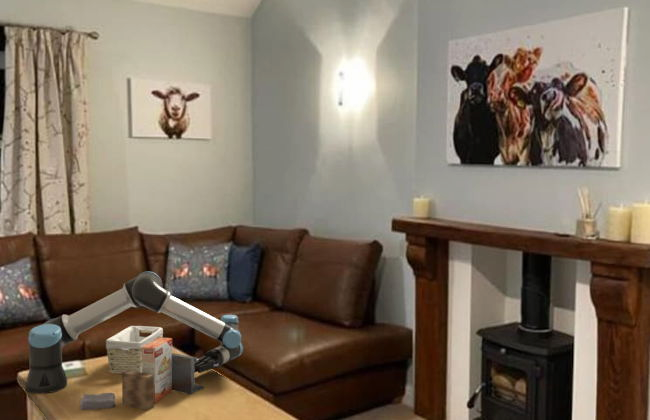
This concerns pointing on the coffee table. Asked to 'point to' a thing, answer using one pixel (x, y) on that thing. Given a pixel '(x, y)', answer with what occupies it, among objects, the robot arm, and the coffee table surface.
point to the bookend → (184, 374)
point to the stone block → (97, 401)
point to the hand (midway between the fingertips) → (180, 374)
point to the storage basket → (129, 348)
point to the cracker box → (158, 365)
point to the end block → (137, 390)
